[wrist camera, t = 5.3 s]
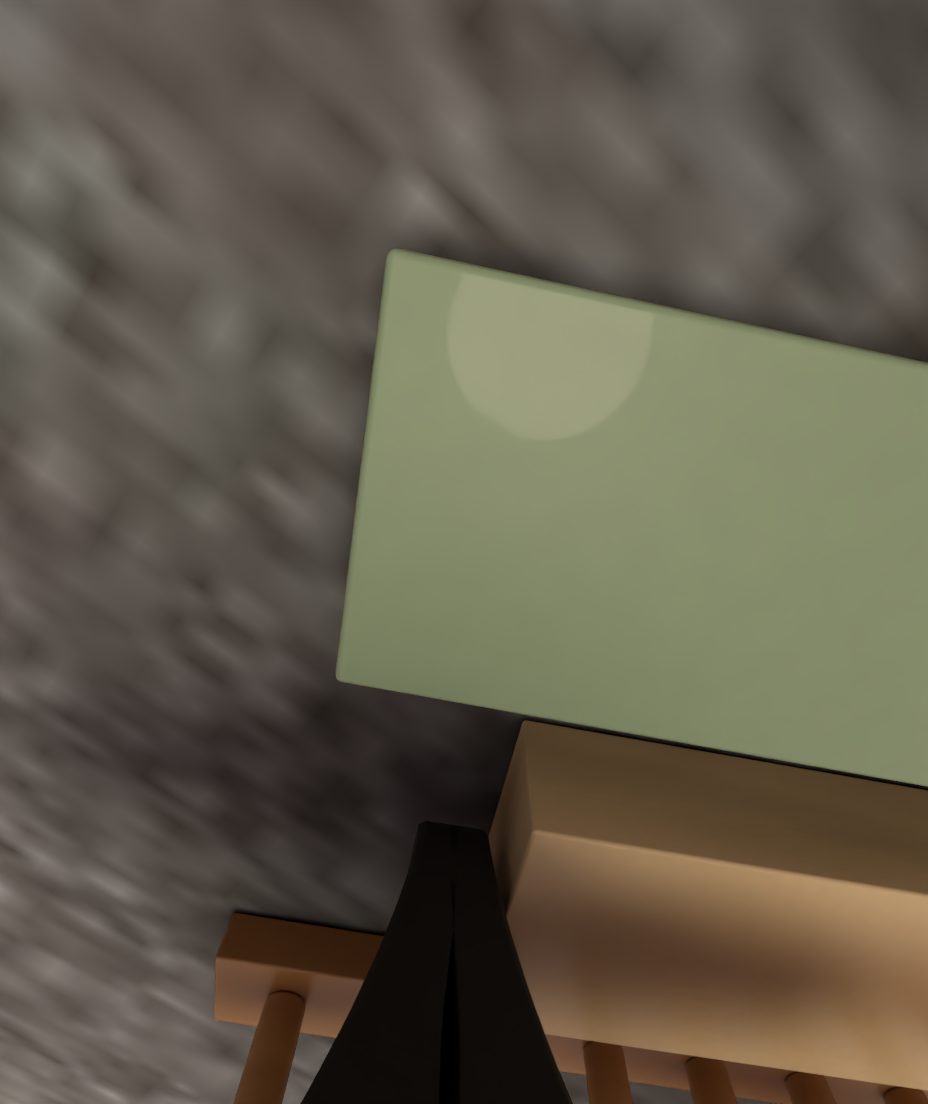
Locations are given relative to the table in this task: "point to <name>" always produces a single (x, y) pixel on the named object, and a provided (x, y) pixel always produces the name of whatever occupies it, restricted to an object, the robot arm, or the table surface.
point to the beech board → (717, 904)
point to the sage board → (641, 521)
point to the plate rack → (346, 956)
